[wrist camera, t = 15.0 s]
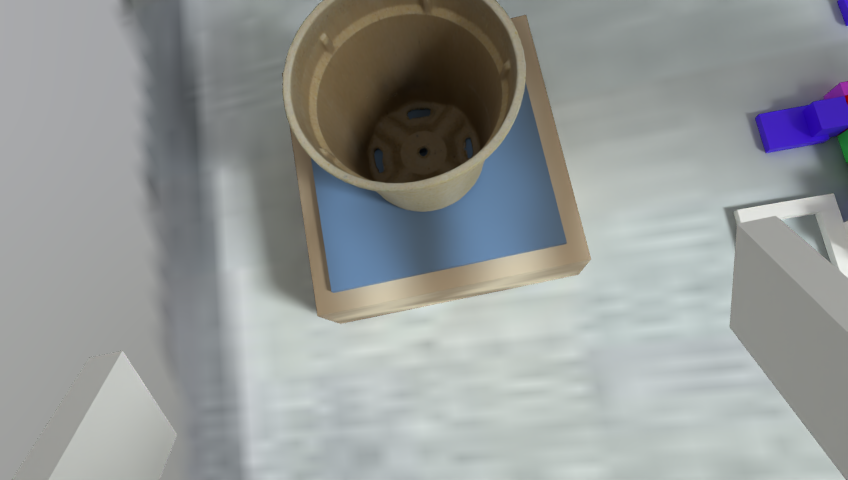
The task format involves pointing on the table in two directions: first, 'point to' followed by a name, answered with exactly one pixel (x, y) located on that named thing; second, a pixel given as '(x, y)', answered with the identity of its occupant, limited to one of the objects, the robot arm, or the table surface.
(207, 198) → the table surface
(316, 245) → the plinth
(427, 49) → the flower pot
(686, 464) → the table surface
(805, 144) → the building block set
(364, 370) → the table surface
